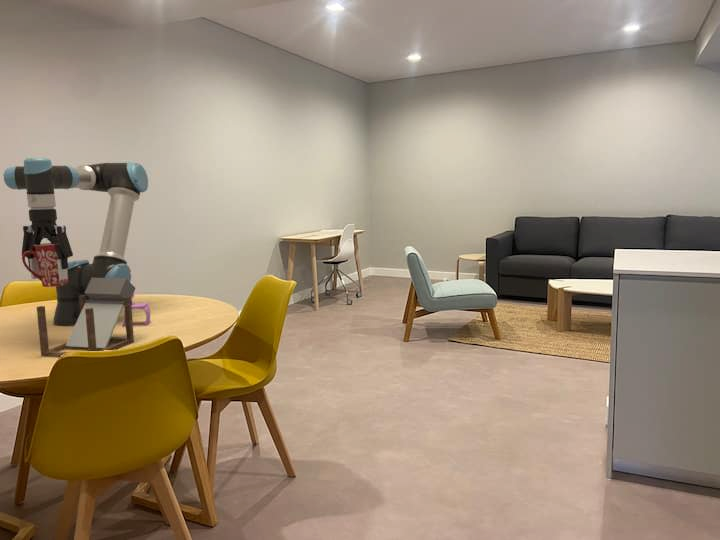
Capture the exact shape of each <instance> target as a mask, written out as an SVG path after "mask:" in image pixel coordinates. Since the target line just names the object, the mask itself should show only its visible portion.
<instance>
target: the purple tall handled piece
mask: <svg viewBox="0 0 720 540" xmlns="http://www.w3.org/2000/svg"><path fill="white" fill-rule="evenodd" d="M134 297H135V292H134V293H133V296H132V298H131V301H132V305H131V307H132V310H136V309H137V310H143V311H144V313H145V316H146V317H145V318H146V319H145V323H144V326H145V327H146V326H148V325H149V324H150V322H151V309H150V305H149V303H148V302H140V303H139V302H138V303H137V302H135V303H134V302H133V299H134ZM124 326H125V327H126V322H125V310H124V311H123V322H122V326H121V327H122V328H124Z"/></svg>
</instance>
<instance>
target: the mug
mask: <svg viewBox="0 0 720 540" xmlns="http://www.w3.org/2000/svg"><path fill="white" fill-rule="evenodd" d="M56 245H59V246H61V245H60V244H56ZM34 247H35V250H36V251H26V252H24V253H23V255H22V254H21V259H22V260H21V261H22V264H23V266H24V267H25V268H26V270H27V271H28V272H29V273H30V274H31V273H32V274H33V275H34V276H35V277H36V278H37V279H38V280H39V281H40V282H41V284H42V285H41V286H42V287H43V288H53V287H55V288H56V286H62V285H66V284H68V279H63V280H59V271H58V261H57V259H58V258H59V256H58V254H57V253H56V251H55V244H51V242H43V243H40V245H34ZM28 253H32V254H33V255H34V256H35V258H36V259H37V261H38V265H39V270H40V275H37V274H36V273H35V272H33V271H32V270H31V268H29V264H27V262H26V257H25V256H26V254H28ZM62 255H63V254H62ZM67 276H68V273H67Z"/></svg>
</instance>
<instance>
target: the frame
mask: <svg viewBox="0 0 720 540" xmlns="http://www.w3.org/2000/svg"><path fill="white" fill-rule="evenodd" d="M86 300H87V299H86V295H81V296H79V304H80V313H81V311H82V309H83V307H84V305H85V301H86ZM132 303H133V300H132V301H131V297H124V302H123V304H124V306H123V308H124V311H125V322H126V325H125V331H126V333H125V334H126V337H116V336H115V337H114V336H111V338H110V340H109V342H108V343H115V344H112V345H110V346H107V347H106V348H105V349H100V350H99V351H104V350H114V349H116V350H118V349H119V350H120V349H121V348H123V347H126V346H128V345H130V344H133V343H135V340H134V339H135V337H134V324H133V309H132V307H131V305H132ZM85 314H86V325H87V337H88V348H87V349H88V352H89V351H97V350H98V348H96V336H95V324H94V312H93V308H87V309H85ZM46 315H47V314H46V306H45V305H40V306H39V305H38V306H36V317H37V327H38V337H39V346H40V347H39V349H40V355H41V357H50V358H51V357H52V358H53V357H54V358H61V357H60V356H61V355H63V354H65V353H67V352H68V351H63V350H66V349H68V347H67V346H66V344H67V342H65V343H62V344H60V345H59V344H58V345H56V346H54V347H51V348H50V347H49V339H48V338H49V336H48V326H47V316H46ZM60 350H61V351H60ZM114 351H115V350H114ZM97 352H98V351H97Z"/></svg>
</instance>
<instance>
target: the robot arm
mask: <svg viewBox="0 0 720 540" xmlns="http://www.w3.org/2000/svg"><path fill="white" fill-rule="evenodd" d="M52 164H53V163H52V160H51V159H50V158H46V157H45V158H44V157H28V158H25V159H24V160H23V166H22V165H20V166H18V165H15V166H9V167H7V168H6V169H5V170H4V172H3V181H4V184H5V185H6V186H7V187H8V188H9V189H11V190H19V191H20V190H26V198H27V207H28V208H30V209H29V210H28V218H29V221H30V222H31V225H24V226H22V231H23V239H22V247H21V256H22V255H23V253H24V252H26V251H36V250H35V247H34V245H40V244H42V243H41V242H42V240H44V239H46V240H47V241H49V243H51V244H55V251H56V253H57V254H58V256H59V258H58V259H57V261H58V271H59V280H63V279H68V284H66V285H62V286H55V290H56V291H55V292H56V300H57V301H56V307H55V311H54V316H53V317H52V318H53V324H54V325H56V326H61V327H63V326H65V327H66V326H67V327H68V326H69V327H70V326H75V324H76V322H77V320H78V318H79V315H80V304H79V296H81V295H86V294H85V291H86V289H87V286H88V284H89V282H90V280H91V278H123V279H127V280H128V281H129V282H130V283H131V280H132V274H131V272H132V270H131V268H130V266H129V265H128V264H127V263H128V262H127V260H126V259H125V257H124V256H125V253H126V247H127V243H128V242H127V241H128V237H129V231H130V227H131V222H132V215H133V210H134V205H135V202H136V201H139V199H140V195H141V193H145V192H146V191H147V190H148V188H149V179H148V178H149V177H148V174H147V171H146V169H145V167H144V166H143V165H142V164H141V163H140V162H139V163H138V162H130V161H127V162H104V163H103V162H100V163H95V164H93V163H92V164H85V165H79V166H77V167H72V166H69V165H52ZM69 189H79V190H82V191H92V192H93V191H94V192H100V193H107V194H108V195H109V196H110V199H109V204H108V205H109V206H108V208H107V214H106V220H105V224H104V229H103V233H102V239H101V243H100V249H99V253H98V254H96V255H94V257H93V260H92V263H90V261H89V259H80V260H72V261H69V259H68V258H70V257H73V256H74V253H73V251H72V247H71V244H70V242H69V238H68V235H67V227H66V225H58V224H57V220H58V217H57V216H58V214H57V209H56V206H57V203H56V196H55V190H69ZM56 244H60V245H61V246H59V245H56ZM62 254H63V255H62ZM25 258H27V263H28V267H29V268H30V269H31V270H32V271H33V272H35V273H36V274H37V275H40V270H39V265H38V261H37V259H36V258H35V256H34V255H33V254H32V253H28V254H26V256H25ZM67 273H68V276H67ZM30 276H31V280H36V279H38V278H36V277H35V276H34V275H33V274H32V273H30ZM86 299H87V300H92V299H90V298H89V297H88V296H87V295H86Z"/></svg>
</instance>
